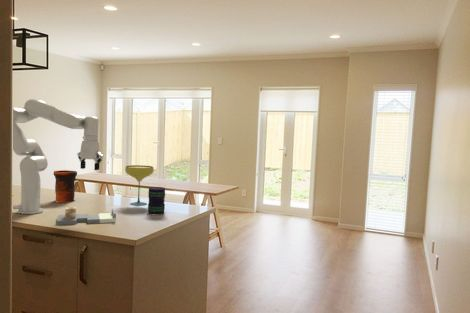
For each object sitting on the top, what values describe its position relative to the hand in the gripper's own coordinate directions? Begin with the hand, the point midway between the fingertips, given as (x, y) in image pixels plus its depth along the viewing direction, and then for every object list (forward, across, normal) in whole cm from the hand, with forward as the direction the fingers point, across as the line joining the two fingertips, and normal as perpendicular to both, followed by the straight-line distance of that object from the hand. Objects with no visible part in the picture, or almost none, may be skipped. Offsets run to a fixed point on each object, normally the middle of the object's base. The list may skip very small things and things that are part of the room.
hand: (89, 169), depth 212 cm
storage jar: (+26, +30, +24) cm, 46 cm away
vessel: (+26, -40, +24) cm, 54 cm away
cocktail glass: (+26, +5, +41) cm, 49 cm away
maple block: (+24, +3, -17) cm, 29 cm away
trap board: (+26, +9, -12) cm, 30 cm away
